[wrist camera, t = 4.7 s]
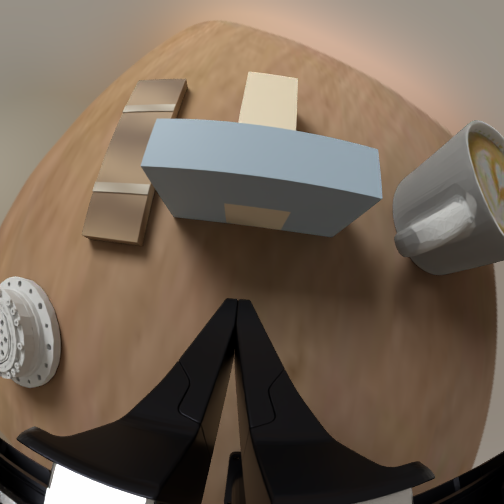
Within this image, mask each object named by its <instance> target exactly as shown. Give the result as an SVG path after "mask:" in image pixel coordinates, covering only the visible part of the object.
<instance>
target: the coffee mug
mask: <svg viewBox="0 0 504 504" xmlns="http://www.w3.org/2000/svg"><path fill="white" fill-rule="evenodd" d="M393 218H394V223H395V228H396V231H397V234H396V236H395V238H394V240H395V245H396V248H397V250H398V252H399V253H400V254H401V255H402V256H403V257H410V258H411V260H412V261H413V262H414V263H415V264H416V265H417V266H418V267H420V268H421V269H423V270H424V271H426V272H428V273H430V274H433V275H445V274H449V273H454V272H458V271H463V270H467V269H471V268H476V267H480V266H484V265H488V264H492V263H496V262H499V261H503V260H504V137H503V136H502V135H501V134H500V133H499V132H498V131H497V130H496V129H494V128H493V127H492V126H490V125H489V124H487V123H485V122H482V121H477V120H475V121H472V122H471V123H469V124H467V125H466V126H465V127H464V128H463V129H462V130H461V131H460V132H458V133H457V134H456V135H455V136H454V137H453V138H451V139H450V140H449V141H448V142H447V143H446V144H445V145H443V146H442V147H441V148H440V149H439V150H438V151H436V152H435V153H434V154H433V155H432V156H431V157H429V158H428V159H427V160H426V161H425V162H424V163H422V164H421V165H420V166H419V167H418V168H416V169H415V170H414V171H413V172H412V173H410V174H409V175H408V176H407V177H405V178H404V179H403V180H402V181H401V182H400V184H399V185H398V187H397V189H396V192H395V195H394V199H393Z"/></svg>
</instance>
